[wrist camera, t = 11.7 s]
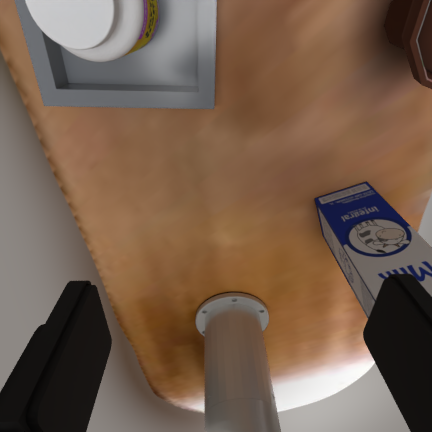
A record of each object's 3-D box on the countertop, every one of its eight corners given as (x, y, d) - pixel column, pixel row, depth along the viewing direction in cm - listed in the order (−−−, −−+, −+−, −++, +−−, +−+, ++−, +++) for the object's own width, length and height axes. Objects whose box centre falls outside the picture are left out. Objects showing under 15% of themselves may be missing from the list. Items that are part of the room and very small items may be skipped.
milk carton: (368, 180, 38) (494, 307, 22) (372, 221, 42) (483, 356, 25) (313, 198, 39) (392, 331, 23) (321, 236, 43) (395, 374, 26)
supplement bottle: (166, 47, 28) (144, 64, 18) (97, 54, 29) (34, 76, 18) (152, -46, 25) (113, -94, 14) (72, -37, 25) (-26, -78, 14)
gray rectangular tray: (213, 99, 32) (214, 109, 29) (61, 96, 31) (44, 105, 28) (217, -117, 23) (219, -139, 20) (6, -127, 23) (-28, -151, 19)
